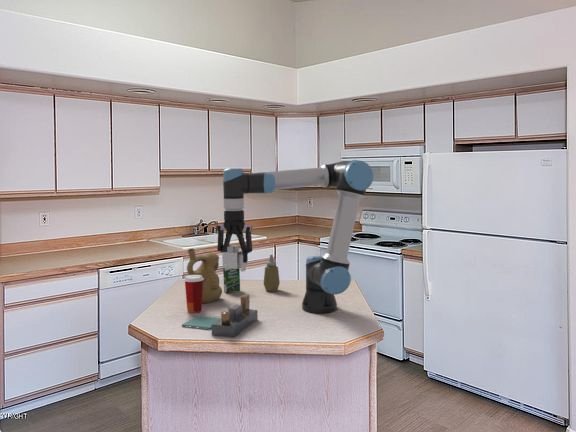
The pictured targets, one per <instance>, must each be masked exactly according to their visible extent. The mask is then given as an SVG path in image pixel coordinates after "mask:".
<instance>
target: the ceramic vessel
mask: <svg viewBox="0 0 576 432" xmlns="http://www.w3.org/2000/svg"><path fill="white" fill-rule="evenodd" d="M187 253H188V257H189V260H188V263H187V266H186V270H187V274H188V275H202V277H203V279H204V280H203V292H202V304H207V303H213V302H215V301H217V300H218V299H220V298H221V296H222V294H223V289H222V287H221V286H220V277H219V275H218V274H217V272H216V271H217V270H218V268H219V263H220V261H219V260H220V256H219V254H217V253H215V252H208V253H206V254H205V255H198V256H196V251H195V249H194V248H190V249H188V250H187ZM197 262H201V264H200V265H199V266H198V267H197V268H196V269H195V270H194V268H193V267H194V265H195V264H196V263H197Z"/></svg>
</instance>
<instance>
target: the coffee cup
mask: <svg viewBox="0 0 576 432" xmlns="http://www.w3.org/2000/svg"><path fill="white" fill-rule="evenodd" d="M203 280H204V279H203V277H202V275H189V274H188V275H186V276H185V277H184V279H183V281H184V286H185V288H184V289H185V298H186V299H185V300H186V306H187V307H186V311H187V312H188V313H189V312H192V313H191V314H195V313H194V312H198V313H201V312H202V311H201V310H202V308H203V303H202V292H203ZM200 311H201V312H200Z"/></svg>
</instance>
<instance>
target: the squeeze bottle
mask: <svg viewBox="0 0 576 432" xmlns="http://www.w3.org/2000/svg"><path fill="white" fill-rule="evenodd" d="M279 273H280V271H279V267H278V266H277V262H276V261H275V259H274V256H273V254H270V255H269V259H268V261H267V262H266V266H265V267H264V273H263V274H264V275H263V286H264V288H265V291H266V292H270V293H271V292H272V293H273V292H277V291H278V290H279V287H280V283H281V282H280V274H279Z"/></svg>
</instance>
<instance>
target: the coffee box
mask: <svg viewBox="0 0 576 432" xmlns="http://www.w3.org/2000/svg"><path fill="white" fill-rule="evenodd" d="M222 272H223V273H222V274H223V293H226V294H228V293H235V292H240V291H241V276H240V274H241V273H240V272H241V269H240V268H238V269H229V270H227V271H225V268H223V267H222Z"/></svg>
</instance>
